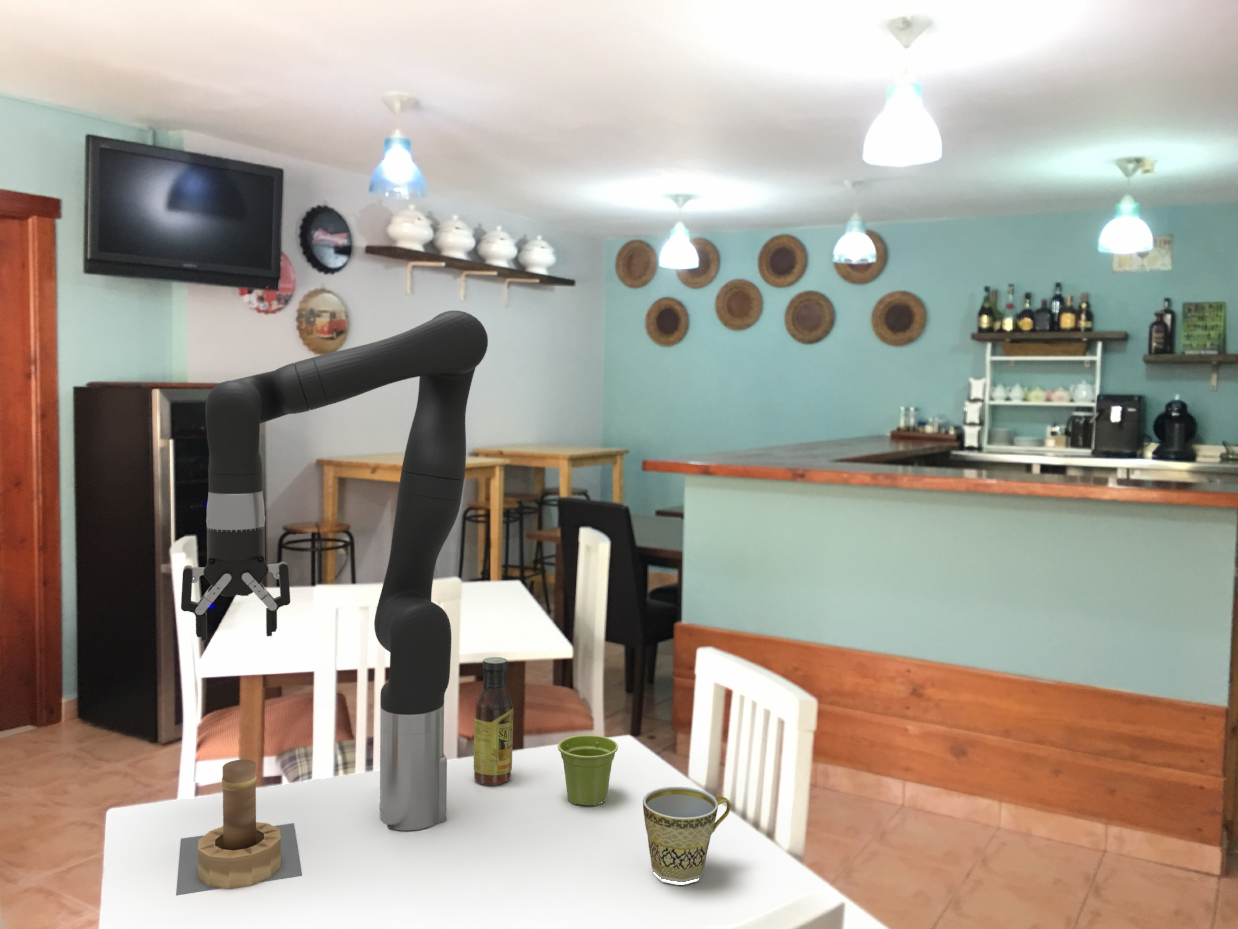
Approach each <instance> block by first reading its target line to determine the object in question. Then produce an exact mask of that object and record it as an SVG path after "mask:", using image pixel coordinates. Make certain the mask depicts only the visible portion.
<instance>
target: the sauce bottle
mask: <svg viewBox="0 0 1238 929" xmlns="http://www.w3.org/2000/svg"><path fill="white" fill-rule="evenodd" d="M508 662H509V661H508V659H507V658H505V657H501V656H500V657H499V656H492V657H485V658H483V659H482V669H483V681H482V686H483V687H482V689H481V690H480V692H479V693H478V695H477V698H476V701H475V715H474V727H473V730H474V733H473V734H474V735H473V738H474V739H473V770H474V774H473V775H474V776H473V777H474V780H475V781H476V782H477V783H478V784H480V785H481V784H482V785H487V786H494V785H501V784H504V783H507V782H509V781H510V779H511V774H512V773H511V772H512V770H513V738H514V735H513V734H514V705H513V703H512V699H511V696H510V693H509V690H508V686H507V685H508V684H507V669H508V667H509V665H508Z"/></svg>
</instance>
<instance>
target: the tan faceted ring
mask: <svg viewBox="0 0 1238 929" xmlns="http://www.w3.org/2000/svg"><path fill="white" fill-rule="evenodd" d="M274 826H275V825H272V824H271V823H269V822H258V821H256V845H255V846H252V847H249V848H247V849H240V850H224V849H223V826H220V827H218V828H217V827H216V828H215V829H213V830H210V831H208V832H207V833H205V834H204V836H203V835H202V836H203V837H202V838H201V839H200V840H198V880H200V881H201V882H203V883H204V884H206V885H208V886H209V887H217V888H221V889H228V890H231V889H236V888H243V887H244V888H245V887H249V886H253V885H256V884H257V883H258V882H259V883H262V882H261V881H263V880H265V879H268V878H270V877H271V876H272V875H273V874H274V873H275V872H276V871H277V870H278V869H279V868H280V867H281V837H280V829H278V828H276V827H274Z"/></svg>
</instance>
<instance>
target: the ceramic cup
mask: <svg viewBox="0 0 1238 929" xmlns="http://www.w3.org/2000/svg"><path fill="white" fill-rule="evenodd" d="M723 803H726V809H725V811H724V812H723V813H722V815H721V816H720V817H719V818H718V819H717V814H718V808H719V806H720V805H721V804H723ZM642 808H643V816H644V826H645V830H646V834H647V843H648V850H649V857H650V864H651V870H653V871H652V873H653V872H655V873H656V874H657V875H658V876H659V877H661V879H666V880H670V881H677V882H686V881H690V880H694V879H698V878H700V877H701V878H702V876H701V875H703V874H702V873H704V871H705V865H706V859H707V854H708V852H709V851H708V850H709V847H710V846H709V845H710V842H711V838H712V834H713V833H714V832H715V831H716V829H717V828H718V827H719V825H720V824H721V823H722V822H723V821H724V820H725V819H726V818H727V817H728V816H729V814H730V812H731V803H730V800H729V799H728V798H726V797H725V796H724V797H723V796H718V797H714V796H713V795H712V794H710V793H708V792H706V791H704V790H700V789H697V788H695V787H694V788H693V787H684V786H666V787H665V786H664V787H660V788H655V789H653V790H651V791H649V792H647V793H646V795H645V796H644V797H643V799H642ZM703 870H704V871H703ZM701 878H700V879H701Z"/></svg>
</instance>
